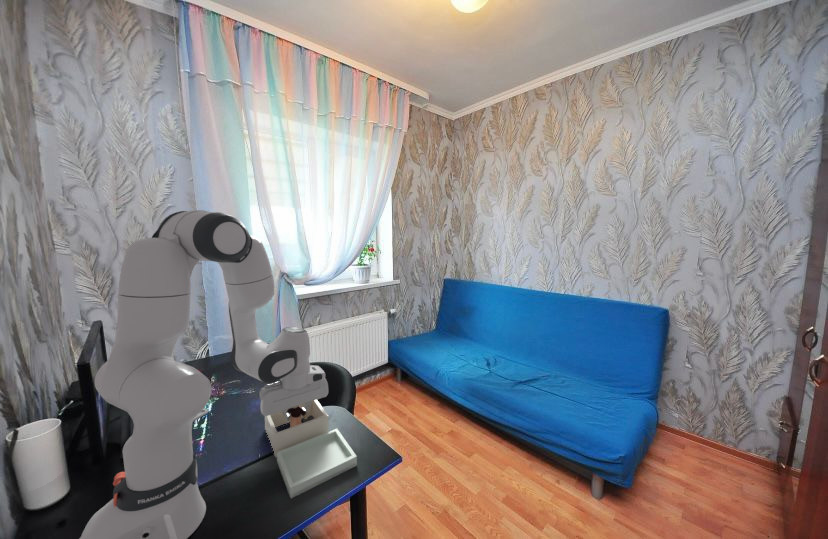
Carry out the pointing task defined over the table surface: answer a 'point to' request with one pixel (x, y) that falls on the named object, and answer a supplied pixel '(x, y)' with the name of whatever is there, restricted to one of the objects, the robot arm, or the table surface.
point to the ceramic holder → (296, 428)
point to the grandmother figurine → (296, 415)
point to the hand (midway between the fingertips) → (296, 416)
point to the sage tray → (315, 461)
